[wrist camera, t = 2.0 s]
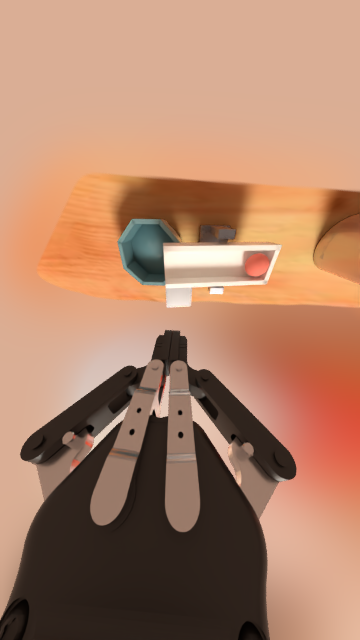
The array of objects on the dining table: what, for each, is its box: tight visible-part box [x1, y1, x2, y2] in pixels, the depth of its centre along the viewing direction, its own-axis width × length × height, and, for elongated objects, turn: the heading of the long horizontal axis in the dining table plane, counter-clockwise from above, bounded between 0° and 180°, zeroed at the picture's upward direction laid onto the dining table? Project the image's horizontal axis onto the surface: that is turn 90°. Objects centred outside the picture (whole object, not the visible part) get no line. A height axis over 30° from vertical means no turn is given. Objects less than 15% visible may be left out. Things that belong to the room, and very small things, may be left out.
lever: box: [163, 242, 282, 308], centre depth 22 cm, size 15×9×6 cm, turn 90°
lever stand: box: [199, 225, 236, 294], centre depth 23 cm, size 5×9×10 cm, turn 179°
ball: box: [245, 253, 269, 276], centre depth 19 cm, size 3×3×3 cm
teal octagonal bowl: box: [118, 219, 182, 285], centre depth 25 cm, size 10×10×6 cm
